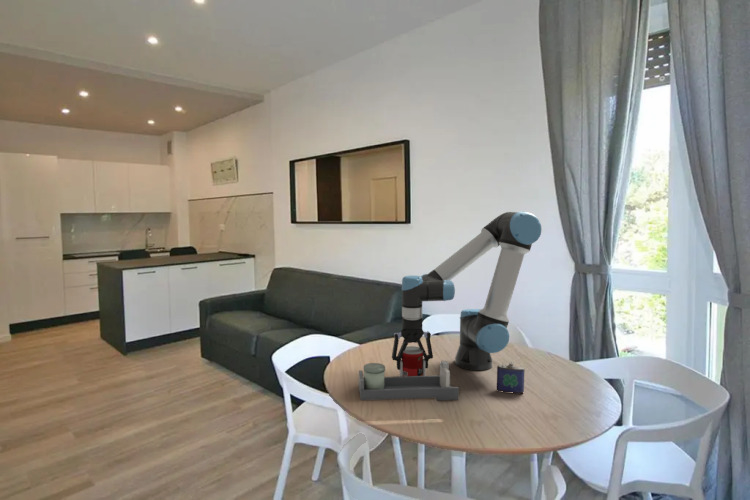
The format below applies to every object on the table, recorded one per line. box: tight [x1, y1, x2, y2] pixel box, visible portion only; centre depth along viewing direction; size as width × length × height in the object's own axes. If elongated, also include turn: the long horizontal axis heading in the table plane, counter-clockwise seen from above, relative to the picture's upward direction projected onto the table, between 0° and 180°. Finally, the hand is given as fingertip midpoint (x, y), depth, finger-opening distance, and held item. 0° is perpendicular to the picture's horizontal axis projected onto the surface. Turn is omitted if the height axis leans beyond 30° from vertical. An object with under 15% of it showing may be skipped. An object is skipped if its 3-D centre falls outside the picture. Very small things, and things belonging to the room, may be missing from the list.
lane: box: [358, 369, 460, 401], centre depth 148 cm, size 33×12×7 cm, turn 95°
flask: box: [496, 361, 526, 394], centre depth 150 cm, size 9×3×11 cm, turn 74°
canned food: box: [401, 345, 424, 376], centre depth 160 cm, size 8×8×11 cm
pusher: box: [439, 360, 451, 387], centre depth 149 cm, size 2×9×10 cm, turn 5°
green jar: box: [363, 362, 386, 390], centre depth 147 cm, size 7×7×9 cm
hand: (412, 377), depth 160 cm, fingers closed on canned food, 8 cm apart
